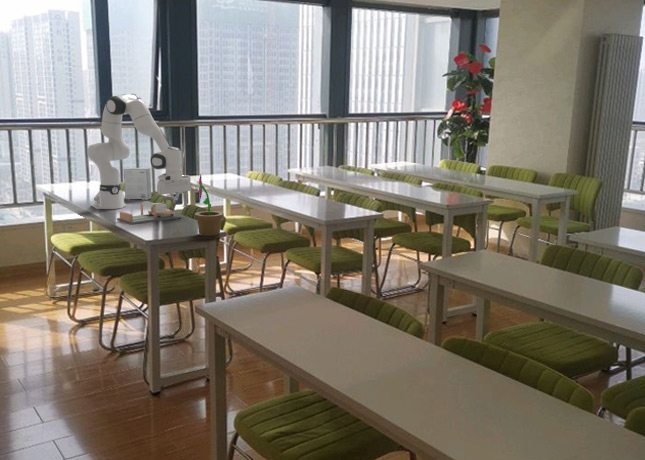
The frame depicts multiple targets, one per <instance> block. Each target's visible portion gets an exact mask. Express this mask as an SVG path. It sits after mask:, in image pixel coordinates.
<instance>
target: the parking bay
mask: <svg viewBox="0 0 645 460" xmlns="http://www.w3.org/2000/svg"><path fill="white" fill-rule="evenodd" d="M153 209H154V218H150V219H142V220H134V221H133V219H135V218H133V216H134V215H133V213H131V212H129V213H128V212H126V211H123V210H122V211H119V218H120V219H122V220H125V221H128V222H136V221H144V220H152V219H154V220H156V207H153ZM140 215H144V203H143V202H140ZM145 217H147V216H145ZM137 218H143V217H137Z"/></svg>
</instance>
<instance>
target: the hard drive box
mask: <svg viewBox="0 0 645 460" xmlns="http://www.w3.org/2000/svg"><path fill="white" fill-rule="evenodd" d="M151 176H152V175H151V168H150V167H126V168H124V169H123V179H124V180H123V181H124V200H130V199H142V200H141V201H148V200H150V199H152V178H151Z"/></svg>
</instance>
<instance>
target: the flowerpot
mask: <svg viewBox="0 0 645 460" xmlns="http://www.w3.org/2000/svg"><path fill="white" fill-rule="evenodd" d="M198 184H199V185H198V191H199V192H198V193H199V199H200V200H201V199H202V195H203V191H204V193H205V195H206V198H205V199H204V200H203V202H202V204H204V205H207V211H197V212H195V213H194V218H195V220H196V222H197V227H198V228H197V229H198V234H199V235H200V234H201V235H200V236H205V237H206V236H207V237H208V236H209V237H210V236H211V237H212V236H218V235H220V234H221V227H222V226H221V224H222V219H224V213H223V212H221V211H217V210H216V211H214V210H213V211H212V210H211V208H212V204H211V202H210V197H209V196H210V195H209V193H208V192H207V190H206V187H204V185H203V179H202V174H201V173H200V174H199V179H198Z"/></svg>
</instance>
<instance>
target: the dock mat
mask: <svg viewBox="0 0 645 460" xmlns="http://www.w3.org/2000/svg"><path fill="white" fill-rule="evenodd" d="M147 217H151V216H147ZM179 218H180V219H181V218H182V216H180V215H177V214H175V216H168V217H160V218H156V220H154V219H152V220H144V221H136V222H128V221H125V220H122V219H120V217H117V218H116V220H117V221H119V222H122V223H125V224H128V225H132V226H133V225H140V224H147V223H154V222H163V221H171V220H177V219H179Z"/></svg>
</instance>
